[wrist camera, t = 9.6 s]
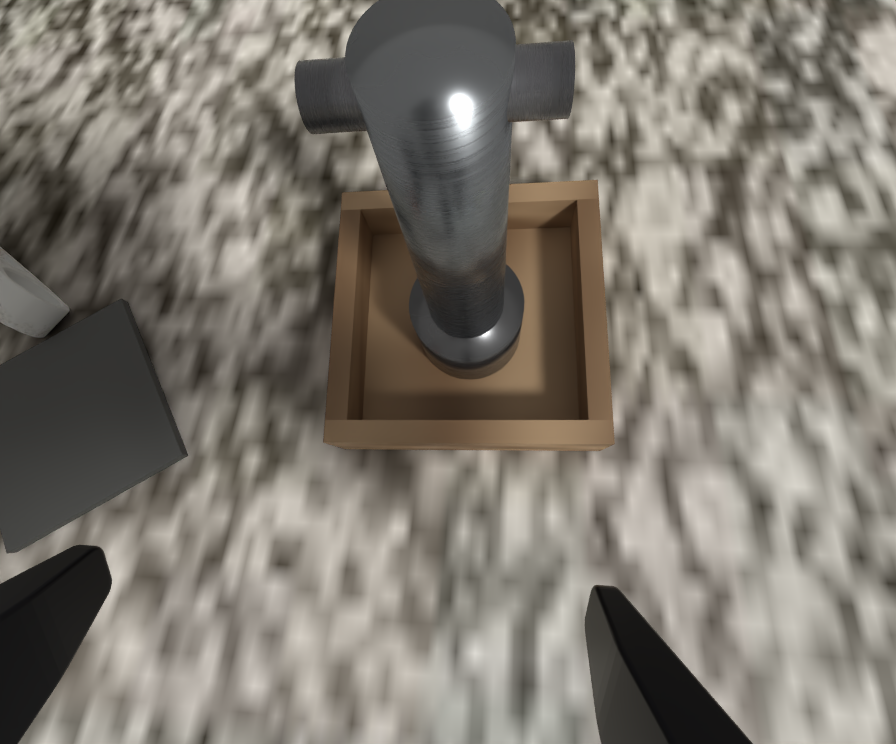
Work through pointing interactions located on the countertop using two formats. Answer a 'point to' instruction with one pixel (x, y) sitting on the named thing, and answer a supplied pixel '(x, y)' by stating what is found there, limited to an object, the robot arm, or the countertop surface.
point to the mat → (79, 425)
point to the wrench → (27, 300)
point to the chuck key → (445, 154)
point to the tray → (493, 397)
